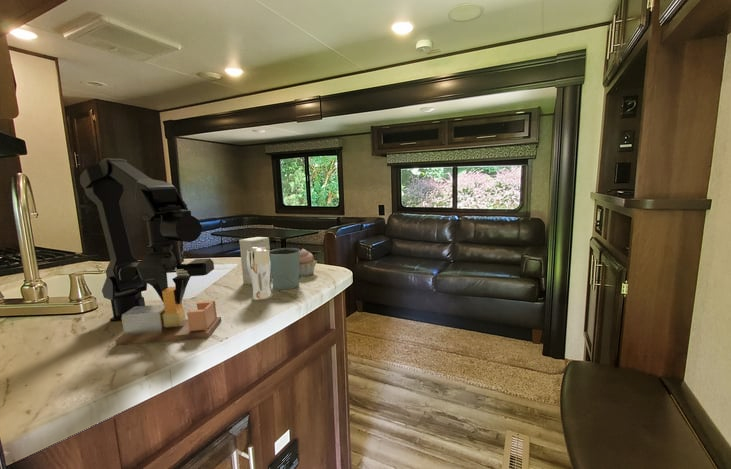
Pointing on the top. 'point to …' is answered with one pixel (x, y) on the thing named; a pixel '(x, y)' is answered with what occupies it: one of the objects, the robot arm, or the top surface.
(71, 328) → the top surface
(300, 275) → the cupcake
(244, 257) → the skincare box
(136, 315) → the steel sleeve
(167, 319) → the wooden blocks
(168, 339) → the walnut board
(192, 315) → the terracotta socket
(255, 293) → the beer glass
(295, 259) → the teal mug
